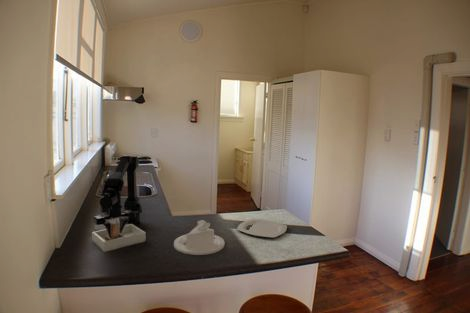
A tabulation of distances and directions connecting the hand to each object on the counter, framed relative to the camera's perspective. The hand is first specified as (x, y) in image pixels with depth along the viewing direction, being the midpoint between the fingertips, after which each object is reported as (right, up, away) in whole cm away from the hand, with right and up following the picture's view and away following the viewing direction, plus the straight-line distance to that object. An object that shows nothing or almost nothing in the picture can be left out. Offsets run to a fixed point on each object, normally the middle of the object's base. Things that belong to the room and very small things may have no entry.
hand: (115, 234), depth 146 cm
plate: (+74, -5, +25) cm, 78 cm away
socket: (0, -4, 0) cm, 4 cm away
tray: (+1, -4, +2) cm, 4 cm away
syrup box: (-17, +1, +16) cm, 24 cm away
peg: (0, -3, 0) cm, 3 cm away
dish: (+41, -6, +2) cm, 41 cm away
